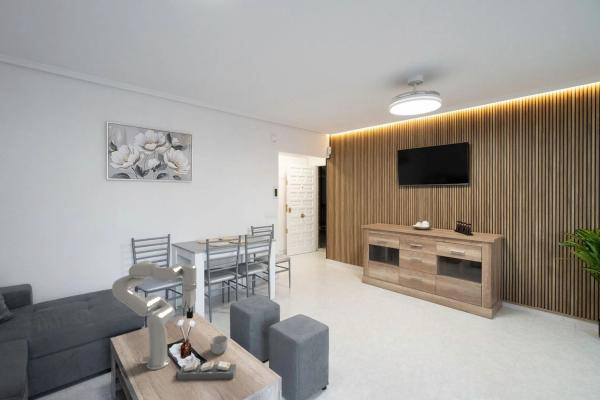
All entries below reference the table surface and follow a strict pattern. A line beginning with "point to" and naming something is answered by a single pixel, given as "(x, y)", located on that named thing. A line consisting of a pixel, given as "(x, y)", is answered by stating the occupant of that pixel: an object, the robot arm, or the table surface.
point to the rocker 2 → (207, 366)
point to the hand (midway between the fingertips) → (189, 317)
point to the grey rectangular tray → (207, 373)
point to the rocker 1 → (191, 366)
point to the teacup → (218, 344)
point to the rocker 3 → (223, 365)
